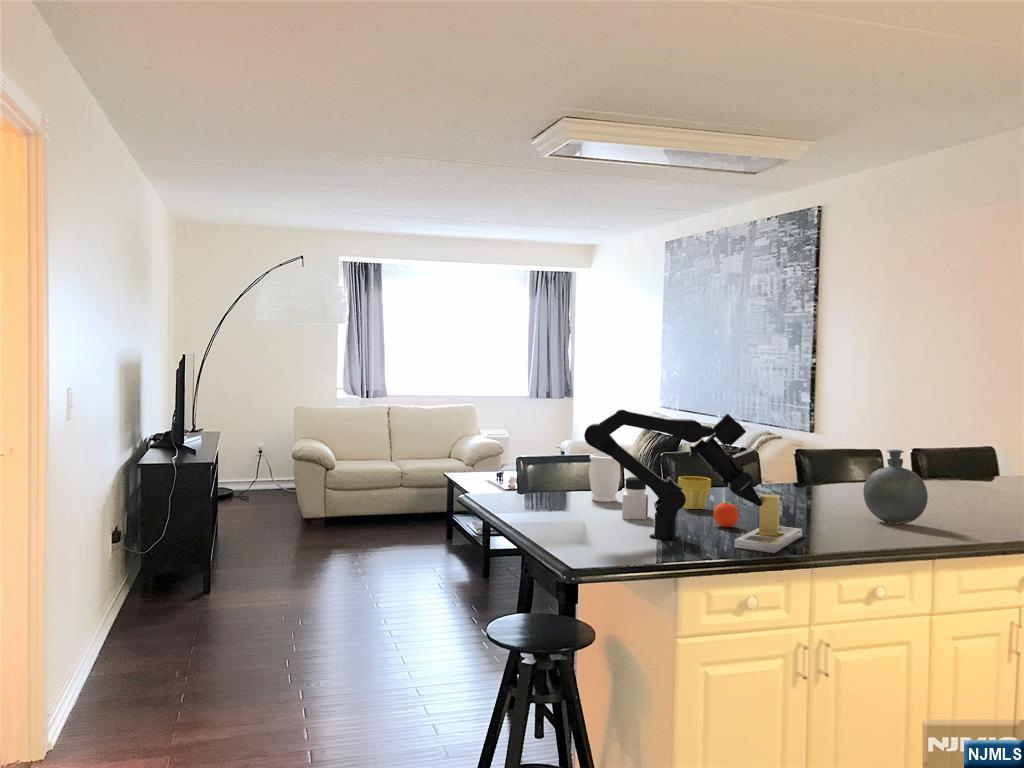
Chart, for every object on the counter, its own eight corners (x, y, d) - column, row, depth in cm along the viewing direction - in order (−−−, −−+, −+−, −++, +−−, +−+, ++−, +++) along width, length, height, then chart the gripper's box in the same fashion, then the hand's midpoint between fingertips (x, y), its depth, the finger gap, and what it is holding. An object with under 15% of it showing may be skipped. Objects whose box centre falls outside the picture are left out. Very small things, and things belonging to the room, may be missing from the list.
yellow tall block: (776, 544, 219) (778, 497, 219) (758, 542, 221) (759, 496, 221) (778, 540, 223) (779, 495, 223) (760, 539, 225) (761, 494, 225)
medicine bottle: (646, 520, 250) (647, 479, 249) (622, 519, 251) (622, 478, 251) (647, 516, 257) (648, 476, 256) (623, 514, 258) (624, 475, 258)
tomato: (721, 523, 247) (722, 499, 247) (744, 526, 243) (744, 501, 242) (708, 527, 241) (709, 502, 241) (731, 530, 236) (732, 505, 236)
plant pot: (717, 510, 269) (717, 479, 269) (689, 512, 265) (689, 480, 265) (698, 505, 279) (699, 475, 279) (671, 506, 275) (671, 476, 275)
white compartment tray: (774, 553, 208) (774, 544, 208) (734, 547, 214) (734, 539, 214) (802, 536, 230) (802, 528, 230) (765, 531, 236) (765, 524, 236)
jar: (582, 498, 288) (583, 454, 287) (609, 497, 292) (610, 453, 292) (599, 503, 278) (599, 457, 278) (625, 502, 283) (626, 457, 282)
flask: (883, 517, 262) (885, 446, 262) (932, 527, 247) (934, 451, 246) (856, 520, 257) (858, 447, 256) (905, 530, 242) (907, 453, 241)
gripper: (745, 440, 213) (789, 486, 212) (734, 434, 232) (774, 477, 231) (712, 470, 214) (755, 516, 213) (704, 462, 233) (743, 504, 232)
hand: (758, 502), depth 222 cm, fingers open, 9 cm apart
